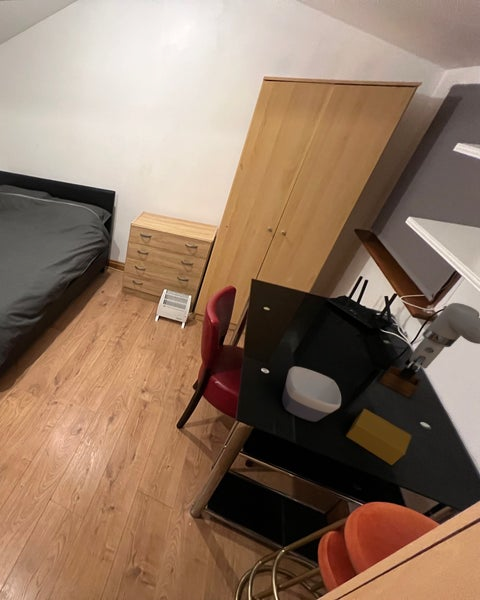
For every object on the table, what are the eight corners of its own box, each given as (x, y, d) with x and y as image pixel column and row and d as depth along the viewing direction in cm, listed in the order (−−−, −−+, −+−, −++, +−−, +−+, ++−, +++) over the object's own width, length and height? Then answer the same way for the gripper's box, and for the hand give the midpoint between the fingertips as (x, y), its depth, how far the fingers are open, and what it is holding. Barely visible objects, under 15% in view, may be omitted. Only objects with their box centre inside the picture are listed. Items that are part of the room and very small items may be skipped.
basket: (412, 389, 123) (421, 379, 120) (408, 397, 119) (418, 387, 116) (382, 374, 128) (391, 365, 125) (378, 382, 125) (387, 372, 122)
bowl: (274, 412, 108) (289, 390, 102) (275, 382, 120) (288, 361, 114) (327, 433, 103) (345, 411, 97) (322, 400, 115) (339, 379, 108)
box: (399, 447, 101) (411, 435, 98) (391, 466, 95) (404, 454, 92) (354, 419, 109) (364, 408, 105) (345, 435, 103) (355, 424, 100)
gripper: (450, 352, 103) (415, 388, 113) (457, 333, 113) (423, 367, 122) (420, 339, 108) (388, 375, 117) (429, 322, 117) (399, 356, 127)
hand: (406, 371), depth 120 cm, fingers open, 9 cm apart
